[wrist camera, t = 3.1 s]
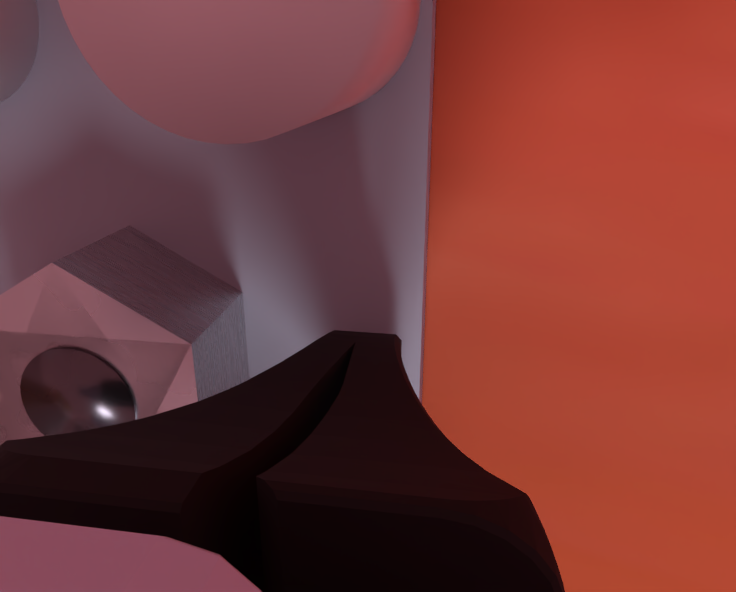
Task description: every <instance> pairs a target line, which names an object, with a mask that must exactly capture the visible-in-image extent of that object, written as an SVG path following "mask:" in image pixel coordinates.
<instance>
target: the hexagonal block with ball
mask: <svg viewBox="0 0 736 592" xmlns="http://www.w3.org/2000/svg"><path fill="white" fill-rule="evenodd" d="M249 379H250V378H249V366H248V353H247V340H246V328H245V315H244V303H243V292H241V291H240V290H238V289H236V288H234V287H233V286H231V285H229V284H228V283H226V282H224V281H223V280H221V279H219V278H218V277H216V276H214V275H213V274H211V273H209V272H208V271H206V270H204V269H202V268H201V267H199V266H197V265H196V264H194V263H192V262H191V261H189V260H187V259H186V258H184V257H182V256H181V255H179V254H177V253H176V252H174V251H172V250H171V249H169V248H167V247H165V246H164V245H162V244H160V243H159V242H157V241H155V240H154V239H152V238H150V237H149V236H147V235H145V234H144V233H142V232H140V231H139V230H137V229H135V228H133V227H132V226H130V225H129V226H127V227H125V228H123V229H121V230H118V231H116V232H114V233H112V234H110V235H108V236H106V237H104V238H102V239H100V240H98V241H96V242H94V243H92V244H89V245H87V246H85V247H83V248H81V249H79V250H77V251H75V252H73V253H71V254H69V255H67V256H65V257H63V258H60V259H58V260H56V261H54V262H52V263H50V264H49V265H47V266H46V267H44V268H42V269H41V270H39V271H38V272H36V273H34V274H33V275H31V276H30V277H28V278H26V279H25V280H23V281H22V282H20V283H18V284H17V285H15V286H14V287H12V288H10V289H9V290H7V291H6V292H4V293H2V294H1V295H0V445H1V444H2V443H4V442H5V441H7V440H16V439H25V438H33V437H41V436H48V435H56V434H64V433H71V432H78V431H84V430H90V429H95V428H100V427H105V426H110V425H115V424H120V423H125V422H129V421H133V420H137V419H141V418H145V417H149V416H153V415H156V414H159V413H162V412H166V411H169V410H172V409H175V408H179V407H182V406H185V405H188V404H192V403H195V402H197V401H200V400H203V399H205V398H208V397H210V396H213V395H215V394H218V393H220V392H223V391H225V390H228V389H230V388H232V387H234V386H237V385H239V384H241V383H243V382H245V381H247V380H249Z"/></svg>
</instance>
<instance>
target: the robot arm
mask: <svg viewBox="0 0 736 592" xmlns="http://www.w3.org/2000/svg"><path fill="white" fill-rule="evenodd" d="M401 349H402V340H401V339H400V338H399V337H398V336H397V335H396V334H384V333H370V332H355V331H340V330H334V331H331V332H329V333H327V334H326V335H324V336H322V337H321V338H319V339H317V340H316V341H314V342H313V343H311V344H309V345H308V346H306V347H305V348H303V349H301V350H300V351H298V352H297V353H295V354H293V355H292V356H290V357H288V358H287V359H285V360H284V361H282V362H280V363H278V364H277V365H275V366H273V367H271V368H269V369H267V370H265V371H264V372H262V373H260V374H258V375H256V376H254V377H252V378H251V379H249V380H247V381H245V382H243V383H241V384H239V385H237V386H234V387H232V388H230V389H228V390H225V391H223V392H220V393H218V394H215V395H213V396H210V397H208V398H205V399H203V400H200V401H197V402H195V403H192V404H188V405H185V406H182V407H179V408H175V409H172V410H169V411H166V412H162V413H159V414H156V415H153V416H149V417H145V418H141V419H137V420H133V421H129V422H125V423H120V424H115V425H110V426H105V427H100V428H95V429H90V430H84V431H78V432H71V433H64V434H56V435H48V436H41V437H33V438H25V439H16V440H7V441H5V442H4V443H2V444H1V445H0V592H565V591H564V586H563V582H562V579H561V575H560V572H559V569H558V566H557V563H556V560H555V557H554V554H553V551H552V548H551V546H550V543H549V540H548V538H547V535H546V533H545V530H544V528H543V526H542V523H541V521H540V519H539V517H538V515H537V512H536V510H535V508H534V506H533V504H532V502H531V500H530V498H529V497H528V495H527V494H526V493H524V492H522V491H520V490H519V489H517V488H515V487H513V486H512V485H510V484H508V483H506V482H505V481H503V480H501V479H499V478H498V477H496V476H494V475H492V474H490V473H489V472H487V471H486V470H484V469H483V468H482V467H480V466H479V465H478V464H476V463H475V462H474V461H472V460H471V459H470V458H468V457H467V456H466V455H464V454H463V453H462V452H461V451H460V450H459V449H458V448H457V447H456V446H455V445H453V444H452V443H451V442H450V441H449V440H448V439H447V438H446V437H445V435H444V434H443V433H442V432H441V431H440V430H439V428H438V427H437V426H436V425H435V423H434V422H433V420H432V419H431V418H430V416H429V415H428V414H427V412H426V410H425V409H424V407H423V406H422V404H421V402H420V401H419V399H418V397H417V395H416V393H415V391H414V389H413V387H412V385H411V383H410V381H409V378H408V375H407V373H406V370H405V368H404V365H403V361H402V357H401Z"/></svg>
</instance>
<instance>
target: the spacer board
mask: <svg viewBox="0 0 736 592" xmlns="http://www.w3.org/2000/svg"><path fill="white" fill-rule="evenodd" d="M435 22H436V0H0V295H1V294H2V293H4V292H6V291H7V290H9V289H10V288H12V287H14V286H15V285H17V284H18V283H20V282H22V281H23V280H25V279H26V278H28V277H30V276H31V275H33V274H34V273H36V272H38V271H39V270H41V269H42V268H44V267H46V266H47V265H49V264H50V263H52V262H54V261H56V260H58V259H60V258H63V257H65V256H67V255H69V254H71V253H73V252H75V251H77V250H79V249H81V248H83V247H85V246H87V245H89V244H92V243H94V242H96V241H98V240H100V239H102V238H104V237H106V236H108V235H110V234H112V233H114V232H116V231H118V230H121V229H123V228H125V227H127V226H129V225H130V226H132V227H133V228H135V229H137V230H139V231H140V232H142V233H144V234H145V235H147V236H149V237H150V238H152V239H154V240H155V241H157V242H159V243H160V244H162V245H164V246H165V247H167V248H169V249H171V250H172V251H174V252H176V253H177V254H179V255H181V256H182V257H184V258H186V259H187V260H189V261H191V262H192V263H194V264H196V265H197V266H199V267H201V268H202V269H204V270H206V271H208V272H209V273H211V274H213V275H214V276H216V277H218V278H219V279H221V280H223V281H224V282H226V283H228V284H229V285H231V286H233V287H234V288H236V289H238V290H240V291H241V292H243V303H244V315H245V328H246V340H247V353H248V366H249V378H250V379H251V378H252V377H254V376H256V375H258V374H260V373H262V372H264V371H265V370H267V369H269V368H271V367H273V366H275V365H277V364H278V363H280V362H282V361H284V360H285V359H287V358H288V357H290V356H292V355H293V354H295V353H297V352H298V351H300V350H301V349H303V348H305V347H306V346H308V345H309V344H311V343H313V342H314V341H316V340H317V339H319V338H321V337H322V336H324V335H326V334H327V333H329V332H331V331H334V330H340V331H355V332H370V333H384V334H396V335H397V336H398V337H399V338H400V339H401V340H402V349H401V357H402V361H403V365H404V368H405V370H406V373H407V375H408V378H409V381H410V383H411V385H412V387H413V389H414V391H415V393H416V395H417V397H418V399H419V401H420V402H421V404H422V383H423V355H424V327H425V299H426V272H427V244H428V216H429V188H430V161H431V133H432V105H433V77H434V50H435Z"/></svg>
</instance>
